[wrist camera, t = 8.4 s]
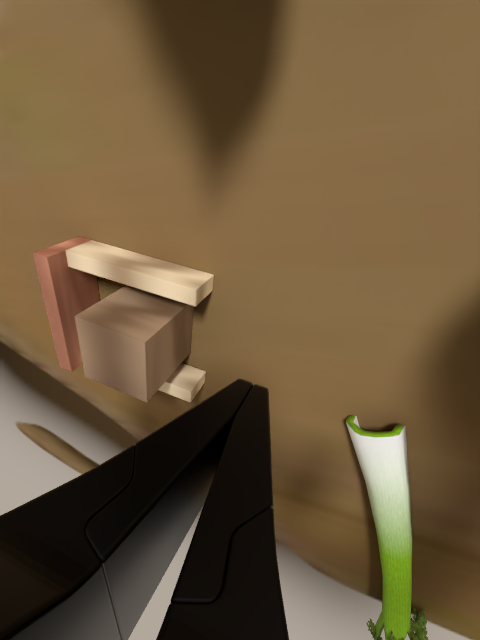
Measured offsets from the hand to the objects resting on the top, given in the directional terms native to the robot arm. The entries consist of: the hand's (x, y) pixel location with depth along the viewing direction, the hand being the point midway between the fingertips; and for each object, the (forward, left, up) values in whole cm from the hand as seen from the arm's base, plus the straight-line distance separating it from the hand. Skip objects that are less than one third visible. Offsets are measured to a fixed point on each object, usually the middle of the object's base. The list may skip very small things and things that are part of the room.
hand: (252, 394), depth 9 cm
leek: (-12, +24, -13) cm, 30 cm away
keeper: (+10, +8, -12) cm, 18 cm away
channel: (+11, +8, -12) cm, 18 cm away
